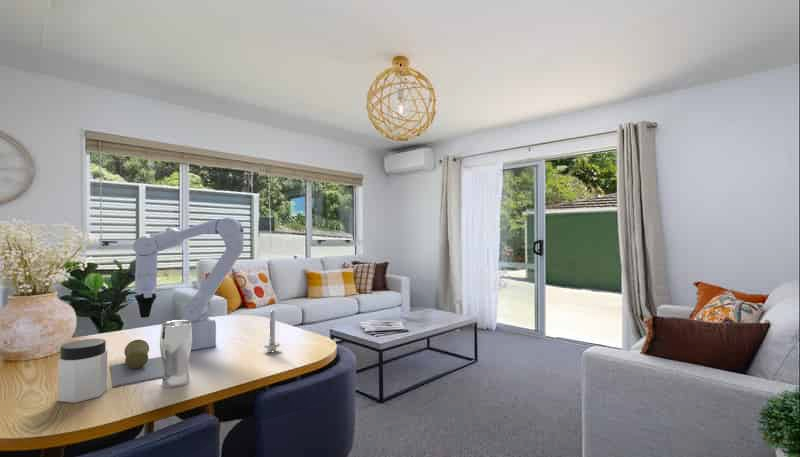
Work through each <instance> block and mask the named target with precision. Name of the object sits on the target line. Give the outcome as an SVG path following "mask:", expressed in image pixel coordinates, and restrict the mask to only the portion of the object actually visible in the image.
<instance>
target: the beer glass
mask: <svg viewBox="0 0 800 457" xmlns="http://www.w3.org/2000/svg"><path fill="white" fill-rule="evenodd" d="M159 334H160V336H159V349H160V357H162V361H163V367H164V376H163V378H162V381H161V386H162V387H163V388H167V389H169V388H171V389H173V388H178V387H183V386H185V385H187V384H189V383H190V379H191V378H190V373H189V362H190V356H191V351H192V350H191V346H192V327H191V321H188V320H183V319H180V320H179V319H178V320H170V321H166V322H163V323H162V324H161V325H160V333H159Z"/></svg>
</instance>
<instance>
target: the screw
mask: <svg viewBox="0 0 800 457" xmlns="http://www.w3.org/2000/svg"><path fill="white" fill-rule="evenodd" d="M268 327H269V328H268V329H269V333H268V334H269V338H268V339H269V341H268V342H266V343H264V345H263V348H265V349H266V352H267V351H268V352H267V353H269V352H272V351H276V350H277V349H278V348H279V347H280V346H281V343H280V342H278V341H276V319H275V311H274V310H271V311H270V313H269V325H268ZM277 351H278V350H277ZM277 351H276V352H277Z"/></svg>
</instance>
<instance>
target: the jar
mask: <svg viewBox="0 0 800 457" xmlns="http://www.w3.org/2000/svg"><path fill="white" fill-rule="evenodd" d="M106 343H107V341H106V340H105V339H103V338H85V339H78V340H74V341H70V342H66V343H64V344H62V345H61V346H60V350H59V351H60V352H59V353H60V354H59V355H60V357H59V359H57V401H58V402H59V403H60V402H62V403H72V404H77V403H79V402H80V403H81V402H84V401H88V400H92V399H95V398H100V397H101V395H102V394H104V392H105V391H106V390H107V389H108V349H106V348H107V344H106Z"/></svg>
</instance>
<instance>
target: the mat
mask: <svg viewBox="0 0 800 457" xmlns="http://www.w3.org/2000/svg"><path fill="white" fill-rule="evenodd" d="M109 368H110V377H111V385H112V388H119V387H124V386H128V385H134V384H137V383H139V384H140V383H143V382H144V383H145V382H149V381H152V380H154V381H155V380H158V379H163V376H164V367H163V361H162V356H157V357H152V358H151V357H150V358H148V361H147V363H146V364H145V365H144V366H142V367H141V368H138V369H132V368H129V367H128V366H127V365H126V363H125V362H122V363H116V364H110V365H109Z"/></svg>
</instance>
